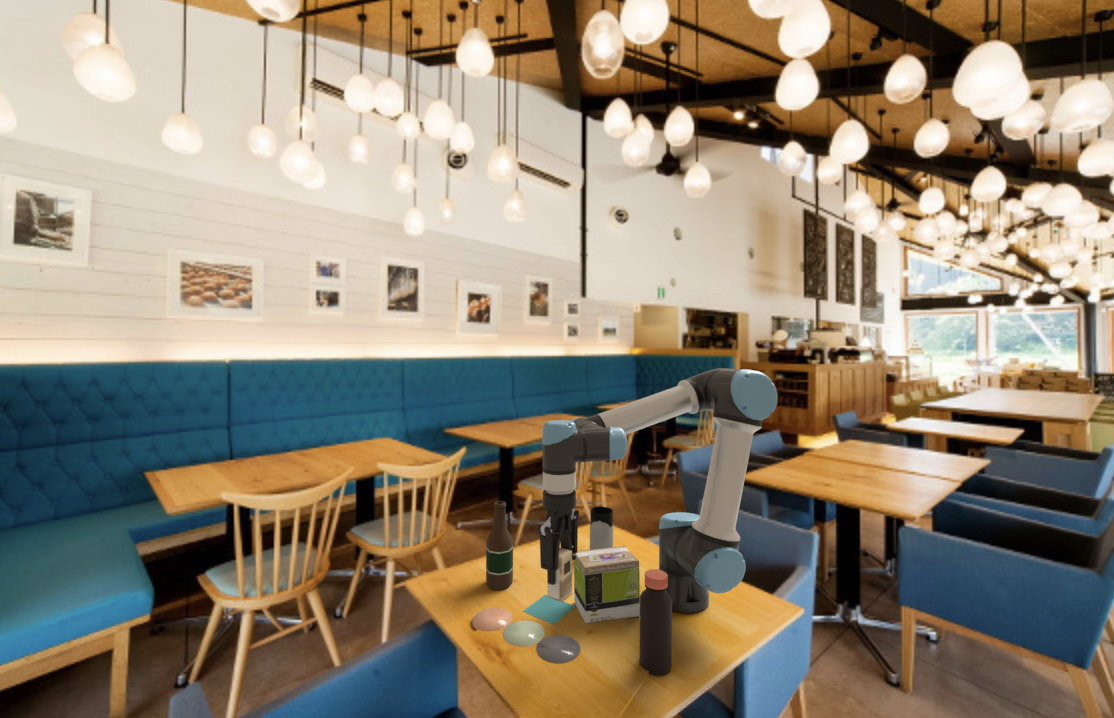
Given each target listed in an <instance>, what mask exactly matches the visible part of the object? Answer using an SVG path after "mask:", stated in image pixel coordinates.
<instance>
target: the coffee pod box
mask: <svg viewBox="0 0 1114 718" xmlns="http://www.w3.org/2000/svg"><path fill="white" fill-rule="evenodd" d="M573 555H574V556H576V559H575V560H573V572H574V573H573V580H574V581H573V585H574V586H573V590H574V594H573V595H574V598H573V599H574V604H575V607H577V610H578V612H579V613H580V614H579V615H581V617H582V619H583V621H584V623H586V624H589V623H595V622H601V621H609V620H616V619H624V618H627V619H628V618H629V619H630V618H635V617H640V595H641V591H640V590H641V589H640V588H641V586H640V582H641V581H640V560H638V558H637V557H636V556H635V555H634V554H633V553H632V552H631V551H630V550H629V549H628V548H627V547H626V546H625V545H621V546H613V547H612V548H604V549H594V550H590V549H589V550H588V549H587V550H582V551H577V553H576V554H575V553H574V554H573Z"/></svg>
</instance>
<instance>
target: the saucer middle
mask: <svg viewBox="0 0 1114 718" xmlns="http://www.w3.org/2000/svg"><path fill="white" fill-rule="evenodd" d="M545 634H546V631H545V628H544V627H543V626H542V625H541V624H540V623H538V622H535V621H530V620H519V621H518V620H517V621H515V622H511V623H510V625H508V626H507V627H505V628H503V631H502V637H503V639H504V641H505V642H506V643H508V644H510V645H512V646H516V647H530V646H533V645H537V644H538V643H539V642H540V641H541V640H542V639H543V638H545Z"/></svg>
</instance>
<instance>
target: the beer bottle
mask: <svg viewBox="0 0 1114 718" xmlns="http://www.w3.org/2000/svg"><path fill="white" fill-rule="evenodd" d="M492 507H493V510H494V511H493V523H492V524H493V525H492V529H491V531H490V532H489V534H488V537H487V538H486V543H485V544H486V545H485V546H486V547H485V548H486V549H485V550H486V551H485V557H486V558H485V559H486V560H485V564H486V565H485V580H486V582H485V583H486V586H488V588H489V589H490V590H493V591H494V590H495V591H502V590H506V589H509V588H510V586H511V585H512V584H513V582H514V581H513V579H514V541H513V537H512V535H511V533H510V532H509V530H508V526H507V513H506V507H507V503H506V502H505V501H504V500H503V501H502V500H498V501H495V502H494V503H493V506H492Z"/></svg>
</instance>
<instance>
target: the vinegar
mask: <svg viewBox="0 0 1114 718" xmlns="http://www.w3.org/2000/svg"><path fill="white" fill-rule="evenodd" d="M644 586H645V589H643V591H641V592H640V616H639V657H638V658H639V665H640V667H641V668H642V669H643V670H645V671H646V672H648V675H649V674H650V675H652V676H657V677H659V676H664V675H667V674H669V673H670V671H671V669H672V659H673V658H672V649H673V648H672V645H673V644H672V643H673V642H672V640H673V610H672V598H671V596H670V595H669V594H668V592H667V591H666V590H667V588H668V587H667V586H668V575H667V574H666V573H665V572H664V571H661V570H658V569H655V568H653V569H652V568H651V569H648V570H646V571H644Z"/></svg>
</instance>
